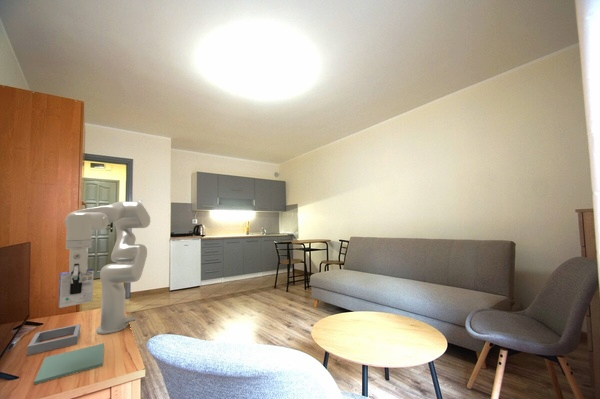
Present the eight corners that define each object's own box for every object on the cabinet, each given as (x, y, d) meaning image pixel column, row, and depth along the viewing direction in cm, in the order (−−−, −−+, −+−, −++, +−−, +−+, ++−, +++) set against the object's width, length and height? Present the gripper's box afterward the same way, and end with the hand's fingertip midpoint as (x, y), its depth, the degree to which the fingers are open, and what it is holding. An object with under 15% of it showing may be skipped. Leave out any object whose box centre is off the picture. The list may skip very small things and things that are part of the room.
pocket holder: (80, 331, 123) (80, 323, 123) (76, 344, 111) (77, 335, 111) (36, 340, 114) (36, 332, 114) (27, 355, 102) (27, 346, 102)
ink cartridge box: (90, 298, 103) (92, 262, 104) (93, 301, 100) (95, 264, 101) (57, 305, 96) (59, 266, 97) (59, 308, 92) (61, 268, 93)
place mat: (103, 345, 109) (103, 343, 109) (102, 365, 95) (102, 362, 95) (45, 359, 99) (45, 357, 99) (33, 384, 84) (33, 381, 84)
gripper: (89, 246, 95) (87, 295, 94) (92, 241, 108) (90, 284, 107) (62, 247, 90) (59, 299, 89) (69, 243, 104) (66, 287, 103)
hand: (76, 291), depth 98 cm, fingers closed on ink cartridge box, 6 cm apart
